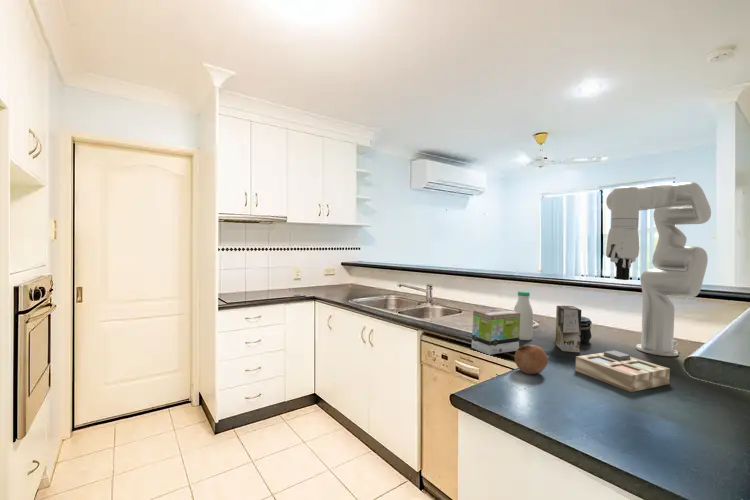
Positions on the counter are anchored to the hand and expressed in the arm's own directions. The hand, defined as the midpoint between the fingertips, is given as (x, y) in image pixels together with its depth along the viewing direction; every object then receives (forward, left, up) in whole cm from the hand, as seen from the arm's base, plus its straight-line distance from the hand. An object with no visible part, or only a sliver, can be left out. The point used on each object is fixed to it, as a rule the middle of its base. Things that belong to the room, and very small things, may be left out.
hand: (622, 279), depth 118 cm
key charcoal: (+6, +3, -26) cm, 27 cm away
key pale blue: (+14, +3, -28) cm, 31 cm away
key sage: (+6, +11, -28) cm, 31 cm away
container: (-12, -27, -29) cm, 42 cm away
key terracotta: (+14, +11, -28) cm, 33 cm away
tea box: (+28, -28, -29) cm, 49 cm away
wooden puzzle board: (+10, +7, -29) cm, 32 cm away
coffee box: (0, -20, -29) cm, 35 cm away
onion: (+34, -5, -29) cm, 45 cm away
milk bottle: (+6, -37, -29) cm, 48 cm away
